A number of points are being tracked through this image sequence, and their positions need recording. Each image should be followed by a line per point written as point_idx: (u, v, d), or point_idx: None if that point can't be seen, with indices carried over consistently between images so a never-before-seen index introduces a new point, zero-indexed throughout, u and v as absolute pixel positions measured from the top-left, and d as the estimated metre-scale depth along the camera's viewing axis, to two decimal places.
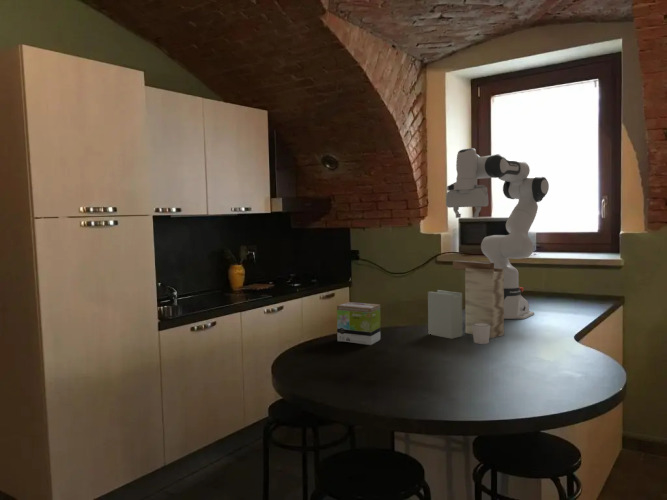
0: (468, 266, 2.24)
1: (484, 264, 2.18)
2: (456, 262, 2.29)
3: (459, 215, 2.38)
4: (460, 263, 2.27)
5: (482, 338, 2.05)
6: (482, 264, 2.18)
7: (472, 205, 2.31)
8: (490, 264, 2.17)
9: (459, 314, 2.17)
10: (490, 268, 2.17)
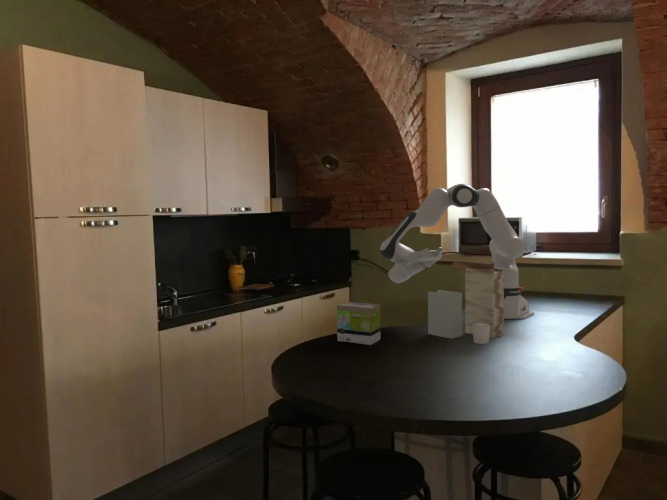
0: (468, 266, 2.24)
1: (484, 264, 2.18)
2: (456, 262, 2.29)
3: (439, 249, 2.43)
4: (460, 263, 2.27)
5: (482, 338, 2.05)
6: (482, 264, 2.18)
7: (422, 258, 2.40)
8: (490, 264, 2.17)
9: (459, 314, 2.17)
10: (490, 268, 2.17)
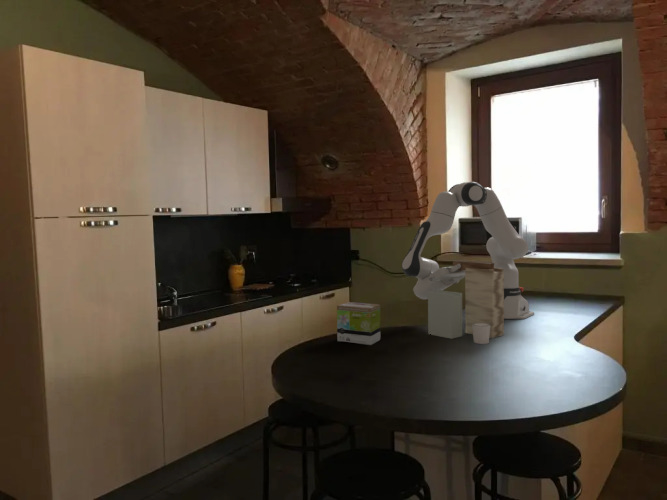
0: (468, 266, 2.24)
1: (484, 264, 2.18)
2: (456, 262, 2.29)
3: None
4: None
5: (482, 338, 2.05)
6: (482, 264, 2.18)
7: (451, 274, 2.28)
8: (490, 264, 2.17)
9: (459, 314, 2.17)
10: (490, 268, 2.17)
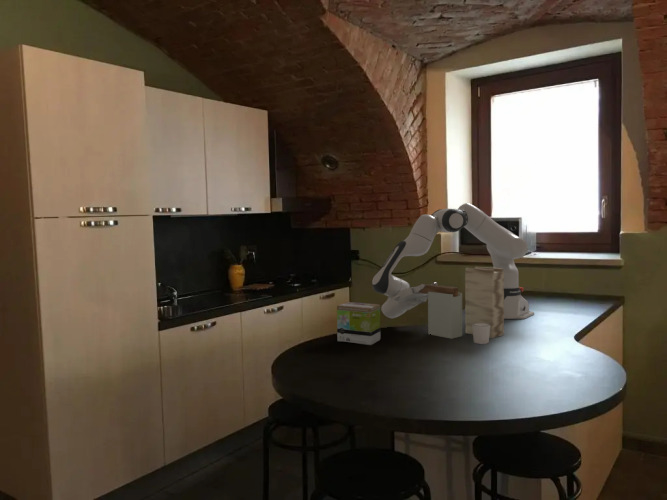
0: (433, 290, 2.22)
1: (448, 289, 2.16)
2: None
3: (433, 284, 2.29)
4: (425, 287, 2.25)
5: (482, 338, 2.05)
6: (446, 288, 2.17)
7: (417, 294, 2.26)
8: (454, 289, 2.15)
9: (459, 314, 2.17)
10: (454, 293, 2.15)
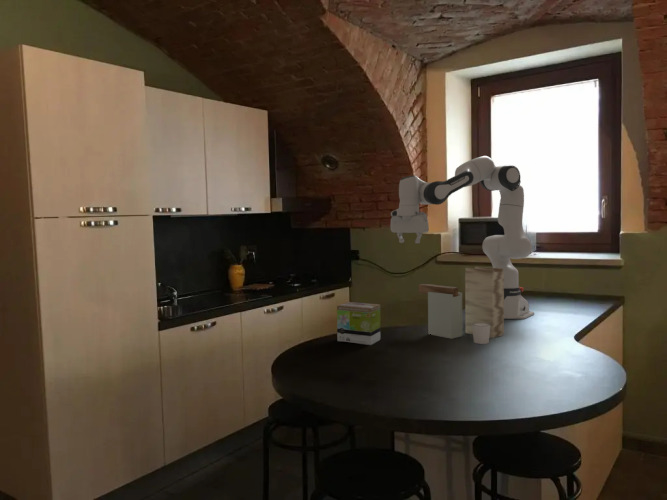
0: (433, 290, 2.22)
1: (448, 289, 2.16)
2: (421, 286, 2.27)
3: (402, 240, 2.45)
4: (425, 287, 2.25)
5: (482, 338, 2.05)
6: (446, 288, 2.17)
7: (413, 231, 2.37)
8: (454, 289, 2.15)
9: (459, 314, 2.17)
10: (454, 293, 2.15)
